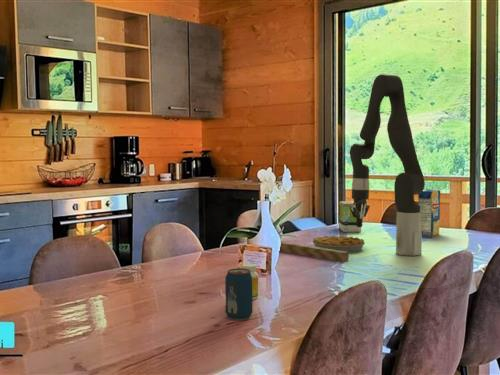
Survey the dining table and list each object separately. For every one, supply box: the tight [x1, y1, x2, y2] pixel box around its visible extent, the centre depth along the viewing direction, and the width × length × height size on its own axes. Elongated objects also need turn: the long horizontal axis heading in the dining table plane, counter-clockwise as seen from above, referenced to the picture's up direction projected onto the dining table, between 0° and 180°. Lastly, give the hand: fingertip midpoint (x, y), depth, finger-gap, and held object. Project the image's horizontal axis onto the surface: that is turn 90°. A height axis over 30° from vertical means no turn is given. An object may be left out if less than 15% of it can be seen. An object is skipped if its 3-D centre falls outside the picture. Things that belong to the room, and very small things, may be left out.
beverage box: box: [417, 189, 441, 238], centre depth 283 cm, size 7×11×22 cm, turn 141°
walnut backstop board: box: [279, 241, 349, 263], centre depth 230 cm, size 36×3×4 cm, turn 46°
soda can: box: [224, 267, 254, 321], centre depth 146 cm, size 7×7×12 cm
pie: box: [312, 235, 366, 254], centre depth 244 cm, size 22×22×5 cm
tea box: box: [338, 200, 362, 233], centre depth 299 cm, size 15×10×15 cm
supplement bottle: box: [241, 263, 259, 301], centre depth 165 cm, size 5×5×10 cm
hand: (359, 226), depth 256 cm, fingers closed
